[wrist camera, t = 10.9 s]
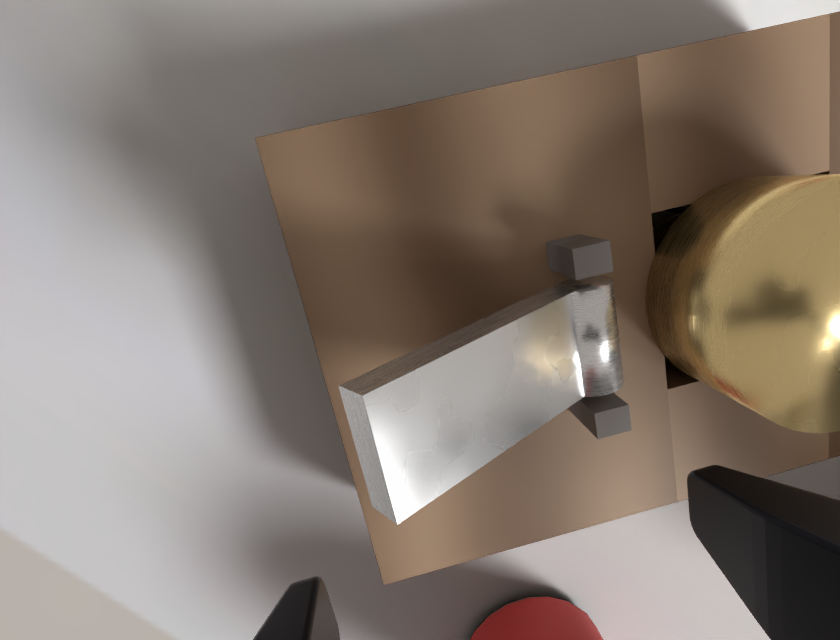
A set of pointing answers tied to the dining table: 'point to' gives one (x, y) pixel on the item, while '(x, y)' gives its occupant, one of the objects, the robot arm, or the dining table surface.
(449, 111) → the brown rectangular block
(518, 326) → the latch bar
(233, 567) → the dining table surface
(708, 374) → the brass pin
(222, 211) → the dining table surface
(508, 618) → the beer can
